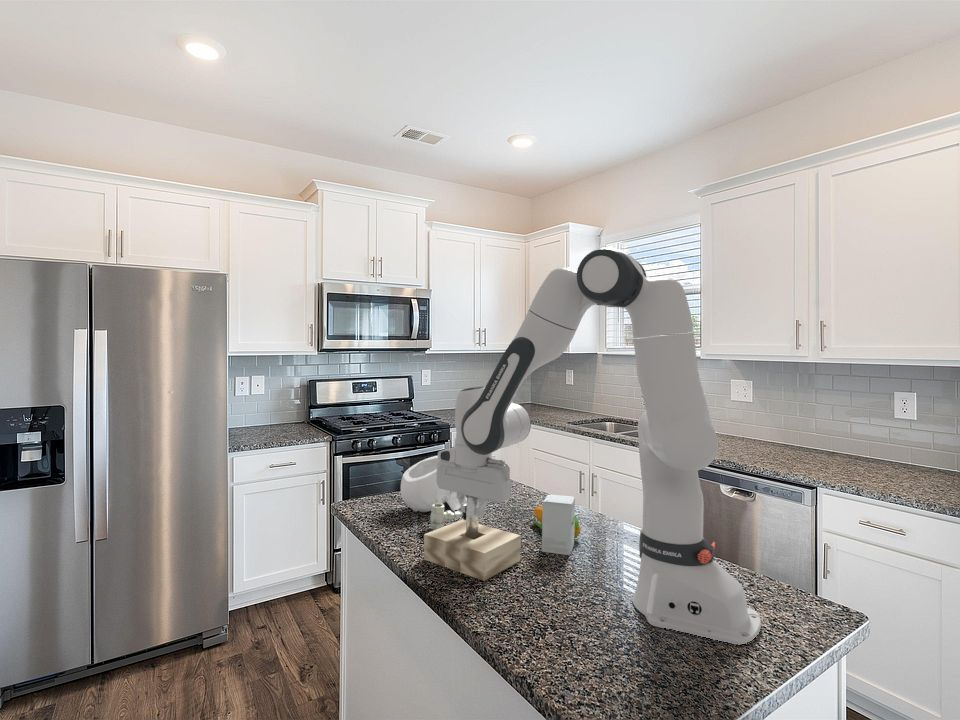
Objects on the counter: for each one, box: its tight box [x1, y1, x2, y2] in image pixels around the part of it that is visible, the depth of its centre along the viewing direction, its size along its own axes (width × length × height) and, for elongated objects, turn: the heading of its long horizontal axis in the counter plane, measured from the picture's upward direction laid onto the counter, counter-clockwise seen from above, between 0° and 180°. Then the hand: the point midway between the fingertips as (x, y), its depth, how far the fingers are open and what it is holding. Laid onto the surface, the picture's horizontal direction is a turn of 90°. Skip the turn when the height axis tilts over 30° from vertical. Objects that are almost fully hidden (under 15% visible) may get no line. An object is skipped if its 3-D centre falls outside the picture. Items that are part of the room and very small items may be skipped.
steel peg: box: [465, 495, 480, 538], centre depth 123 cm, size 3×3×10 cm
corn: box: [532, 505, 582, 539], centre depth 143 cm, size 7×8×20 cm
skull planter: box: [400, 455, 467, 513], centre depth 162 cm, size 14×20×19 cm
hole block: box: [423, 519, 522, 582], centre depth 123 cm, size 18×14×6 cm
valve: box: [429, 503, 466, 531], centre depth 146 cm, size 7×7×12 cm
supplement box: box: [541, 494, 576, 556], centre depth 131 cm, size 7×7×13 cm
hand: (472, 513), depth 123 cm, fingers closed on steel peg, 3 cm apart
